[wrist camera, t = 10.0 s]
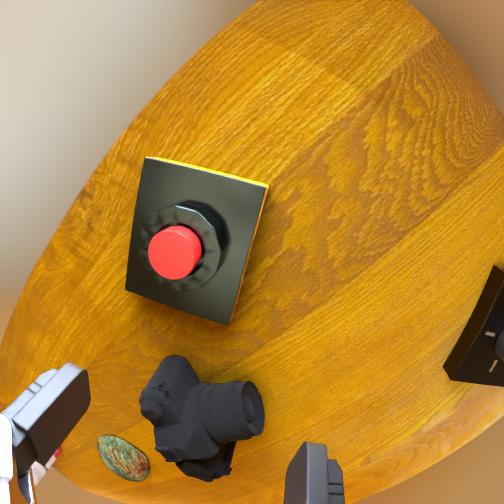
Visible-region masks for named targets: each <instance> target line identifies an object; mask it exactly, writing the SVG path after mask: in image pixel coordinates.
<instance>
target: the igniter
mask: <svg viewBox="0 0 504 504" xmlns="http://www.w3.org/2000/svg"><path fill="white" fill-rule="evenodd" d="M268 188H269V185H268V184H265V183H261V182H257V181H254V180H250V179H246V178H243V177H239V176H235V175H231V174H227V173H224V172H220V171H216V170H212V169H208V168H204V167H200V166H195V165H191V164H187V163H183V162H178V161H174V160H169V159H165V158H160V157H145V159H144V164H143V168H142V173H141V179H140V184H139V189H138V195H137V201H136V207H135V213H134V219H133V226H132V233H131V240H130V248H129V256H128V264H127V274H126V284H125V290H127V291H130V292H132V293H135V294H137V295H140V296H143V297H145V298H148V299H151V300H154V301H156V302H159V303H162V304H165V305H167V306H170V307H173V308H176V309H179V310H182V311H185V312H187V313H190V314H193V315H196V316H199V317H202V318H205V319H208V320H211V321H215V322H218V323H221V324H224V325H227V326H229V324H230V321H231V319H232V316H233V314H234V310H235V307H236V303H237V300H238V296H239V292H240V289H241V285H242V281H243V278H244V274H245V271H246V267H247V263H248V260H249V256H250V253H251V249H252V245H253V242H254V238H255V235H256V231H257V227H258V224H259V220H260V217H261V213H262V209H263V206H264V202H265V199H266V195H267V191H268ZM171 226H184V227H187V228H189V229H190V230H192V231H193V232H194V233H195V234H196V235H197V237H198V238H199V240H200V243H201V246H202V256H201V259H200V261H199V263H198V264H197V266H196V267H195V268H194V269H193V270H192V271H191V272H190V273H189V274H188V275H187V276H185V277H183V278H181V279H168V278H165V277H163V276H161V275H160V274H159V273H157V272H156V270H155V269H154V268H153V267H152V265H151V263H150V260H149V255H148V249H149V245H150V242H151V240H152V239H153V237H154V236H155V235H157V234H158V233H160V232H162V231H163V230H165V229H167V228H169V227H171Z"/></svg>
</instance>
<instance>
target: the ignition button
mask: <svg viewBox="0 0 504 504" xmlns="http://www.w3.org/2000/svg"><path fill="white" fill-rule="evenodd" d="M148 255H149V260H150V263H151V265H152V267H153V268H154V269H155V270H156V272H157V273H159V274H160V275H161V276H163V277H165V278H168V279H181V278H183V277H185V276H187V275H188V274H189V273H190V272H191V271H192V270H193V269H194V268H195V267H196V266H197V264H198V263H199V261H200V259H201V256H202V246H201V243H200V240H199V238H198V237H197V235H196V234H195V233H194V232H193V231H192V230H190V229H189V228H187V227H184V226H171V227H169V228H167V229H165V230H163V231H162V232H160V233H158V234H157V235H155V236H154V237H153V239H152V240H151V242H150V245H149V249H148Z"/></svg>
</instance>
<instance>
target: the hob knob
mask: <svg viewBox="0 0 504 504" xmlns="http://www.w3.org/2000/svg"><path fill="white" fill-rule="evenodd" d="M495 351H496V353H497V354H498V356H499V357H500V358H501V359H502V360H503V362H504V329H503V330H502V331H501V333H500V334H499V336H498V338H497V340H496V344H495Z"/></svg>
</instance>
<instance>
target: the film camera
mask: <svg viewBox="0 0 504 504" xmlns="http://www.w3.org/2000/svg"><path fill="white" fill-rule="evenodd" d="M139 403H140V406H141V414H142V415H143V416H144V417H145V418H146V419H148V420H150V421H151V423H152V424H153V426H154V435H155V443H156V447H155V450H156V451H158V452H160V453H161V455H162V456H163V457H164V458H165V459H166V460H165V461H166V462H175V463H176V466H177V467H178V468H179V469H180V470H181V471H182V472H183V473H184V474H185V475H187V476H188V477H189V476H191V477H195V478H198V479H200V480H203V481H205V482H212V481H213V479H218V478H220V477H222V476H223V475H229V474H230V472H231V470H232V468H230V465H231V462H232V457H233V453H234V449H235V445H236V441H239V440H247V439H250V438H251V437H253V436H258V435H260V434H261V433H262V432H263V429H264V421H265V412H264V407H263V403H262V400H261V395H260V394H259V392H258V390H257V388H256V386H255V385H254V383H252V382H251V381H245V382H242V381H232V382H228V383H223V384H221V383H217V384H211V383H209V382H208V383H201V382H200V380H199V379H198V377H197V376H196V374H195V372H194V370H193V369H192V367H191V365H190V363H189V362H188V361H187V360H186V359H185V358H184V357H181V356H178V355H171V356H167V357H166V358H164V359H163V361H162V362H161V363H160V365H159V367H158V369H157V370H156V372H155V373H154V375H153V376H152V378H151V379H150V381H149V383H148V384H147V386H146V387H145V388H144V390H143V391H142V392H141V396H140V399H139ZM180 460H181V461H180Z"/></svg>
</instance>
